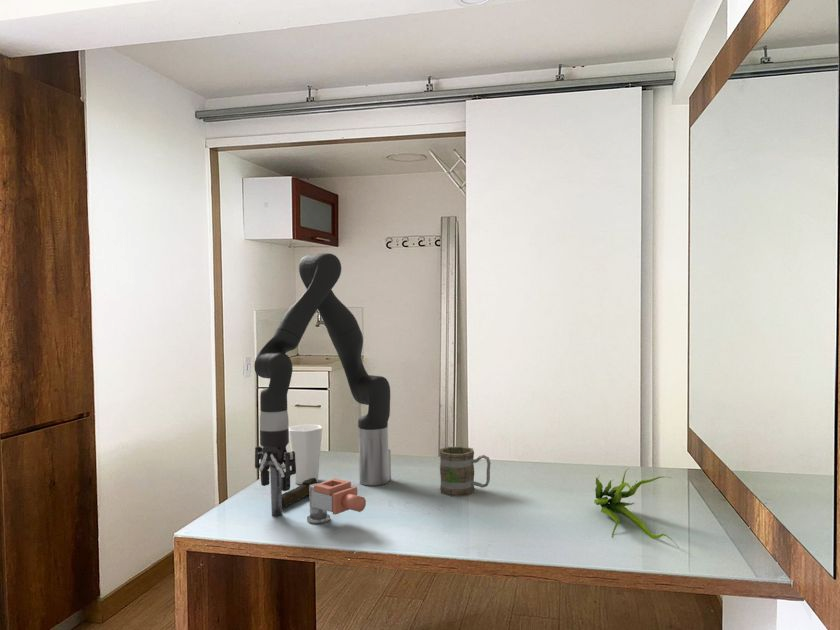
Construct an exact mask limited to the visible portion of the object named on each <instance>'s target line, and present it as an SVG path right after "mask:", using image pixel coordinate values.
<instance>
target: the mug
mask: <svg viewBox="0 0 840 630" xmlns="http://www.w3.org/2000/svg"><path fill="white" fill-rule="evenodd" d="M439 456H440V457H439V458H440V459H439V460H440V461H439V473H440V474H439V475H440V487H439V491H440V492H439V493H440V494H442V495H445V496H449V497H466V496H469V495H472V494H475V493H476V492H475V491H476V490H475V486H476V487H479V488H481V489H482V488H485V487H486V488H487V487H488V486H489V484H490V480H491V479H490V478H491V460H490V457H489V456H487V455H485V454H483V455H479V456H478V457H476V459H474V457H475V451H474V448H471V447H468V446H462V445H461V446H447V447H444V448H443V447H442V448H440V449H439ZM481 459H485V460H486V464H487V467H486V481H485V483H481V482H478V481H475V479H474V478H475V466H474V465H475V464H476V463H479V462H480V461H481Z"/></svg>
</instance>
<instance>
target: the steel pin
mask: <svg viewBox="0 0 840 630" xmlns="http://www.w3.org/2000/svg"><path fill="white" fill-rule="evenodd" d="M268 464H269V465H270V468H269V469H270V470H269V476H270V500H271V501H270V502H271V503H270V504H271V517H272V518H273V517H274V518H279V517H280V518H281V517H282V516H283V509H282V494H283V491H282V485H281V477H282V476H281V473H280V471H279V470H277V468H276V467H275V466H274V465H275V464H274V462H273V461H271V460H268Z"/></svg>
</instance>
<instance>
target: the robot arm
mask: <svg viewBox="0 0 840 630" xmlns="http://www.w3.org/2000/svg"><path fill="white" fill-rule="evenodd" d="M298 265H299V266H298V272H299V276H300V278H301V281H302V283H303V285H304V287H305V289H306V290H305V292H303V294H302V295H301V296H300V297H299V298H298V300H297V301H296V302H295V303H294V304H292V305H291V306H290V307H289V309H287V311H286V312H285V313H284V315H283V317H282V318H281V321H280V322H279V324H278V326H277V328H276V330H275V332H274V334H273V335H272V337H270V339H268V341H267V342H266V343H265V345H264V346H263V347H262V348H261V350H260V351H259V352H258V354H257V355H256V358H255V360H254V365H253V367H254V371H255V374H256V375H257V376H258V377H260V378H263V379H268V380H269V384H268V387H267V388H264V389H262V390H261V391H260V396H259V397H260V398H259V399H260V401H259V402H260V403H259V404H260V409H259V410H260V412H259V413H260V414H259V445H258V446H255V447H254V450H255V451H254V453H255V454H254V469H258V471H259V472H260V485H261V486H263V487H265V486H269V484H270V470H269V469H270V465H269V464H268V460H271V461H273V462H274V464H275V465H274V466H275V467H276V468H277V470H279V471H280V473H281V485H282V492H288V491H290V490H291V476H293V475H294V474H296V462H295V452H294V451H292V452H291V451H287V445H288V444H290V438H289V427H290V426H289V414H288V392H289V390H290V384H291V381H292V376H293V363H292V362H293V361H292V360H291V358H290V356H289V355H288V354H287V353H288V352H290V351H294V350H296V349H297V347H298V346H299V344H300V342H301V340H302V338H303V336H304V334H305V332H306V330H307V328H308V326H309V324H310V322H311V321H312V319H313V317H314V316H315V313H316V312H317V311H318V313H319V315H320V317H321V319H322V321H323V324H324V326H325V328H326V330H327V333H328V336H329V337H330V340H331V342H332V345H333V347H334V349H335V350H336V353H337V356H338V357H339V361H340V363H341V365H342V368H343V370H344V374H345V378H346V380H347V382H348V386H349V390H350V392H351V395H352V397H353V399H354V400H355V401H356V402H357V403H359V404H361V405H366V406H367V405H368V410H367V414H365V415H363V416H361V417H359V418H358V421H357V428H358V429H357V430H358V431H357V432H358V433H357V434H358V467H359V468H358V471H359V472H358V473H359V474H358V475H359V477H358V479H359V483H360V484H361V485H364V486H381V485H385V484H388V483H389V482H390V481H391V480H392V461H391V460H392V457H391V453H392V452H391V449H389V430H388V429H389V428H388V427H389V423H388V422H389V420H390V415H391V385H390V383H389V381H388V379H387V378H386V377H384V376H381V375H371V374H368V372H367V370H366V368H365V366H364V363H363V360H362V351H363V347H364V336H363V333H362V330H361V328H360V326H359V323H358V321H357V319H356V317H355V315H354V314H353V312H351V311H350V310H349V308H348V307H347V306H346V305H345V304H344V302H343V303H342V301H341V300H339V298H338V297H337V296H336V294H335V293H334V292H333V290H332V289H333V288H334V287H335V285H336V283H337V282H338V281H339V279H340V277H341V274H342V263H341V261H340V259H339V258H338V257H337V256H336V255H335V254H333V253H330V252H328V253H327V252H325V253H324V252H323V253H312V254H307V255H305V256H303V257H302V258H301V259H300V261H299V264H298Z"/></svg>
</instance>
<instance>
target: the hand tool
mask: <svg viewBox="0 0 840 630" xmlns="http://www.w3.org/2000/svg"><path fill="white" fill-rule="evenodd" d="M316 483H318V482H317V480H316V479H315V478H311V479H308V480H305V481H303V482H302V484H300V486H298V487H295V488H293V489H289V490H287V491H285V492H283V493H282V510H283V509H284V508H285V509H286V508H287V507H288V506H289V505H291V504H293V503H294V502H297V501H299V500H301V499H303V498H305V497H306V498H307V497H308V498H310V497H309V486H310V485H312V484H316Z"/></svg>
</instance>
